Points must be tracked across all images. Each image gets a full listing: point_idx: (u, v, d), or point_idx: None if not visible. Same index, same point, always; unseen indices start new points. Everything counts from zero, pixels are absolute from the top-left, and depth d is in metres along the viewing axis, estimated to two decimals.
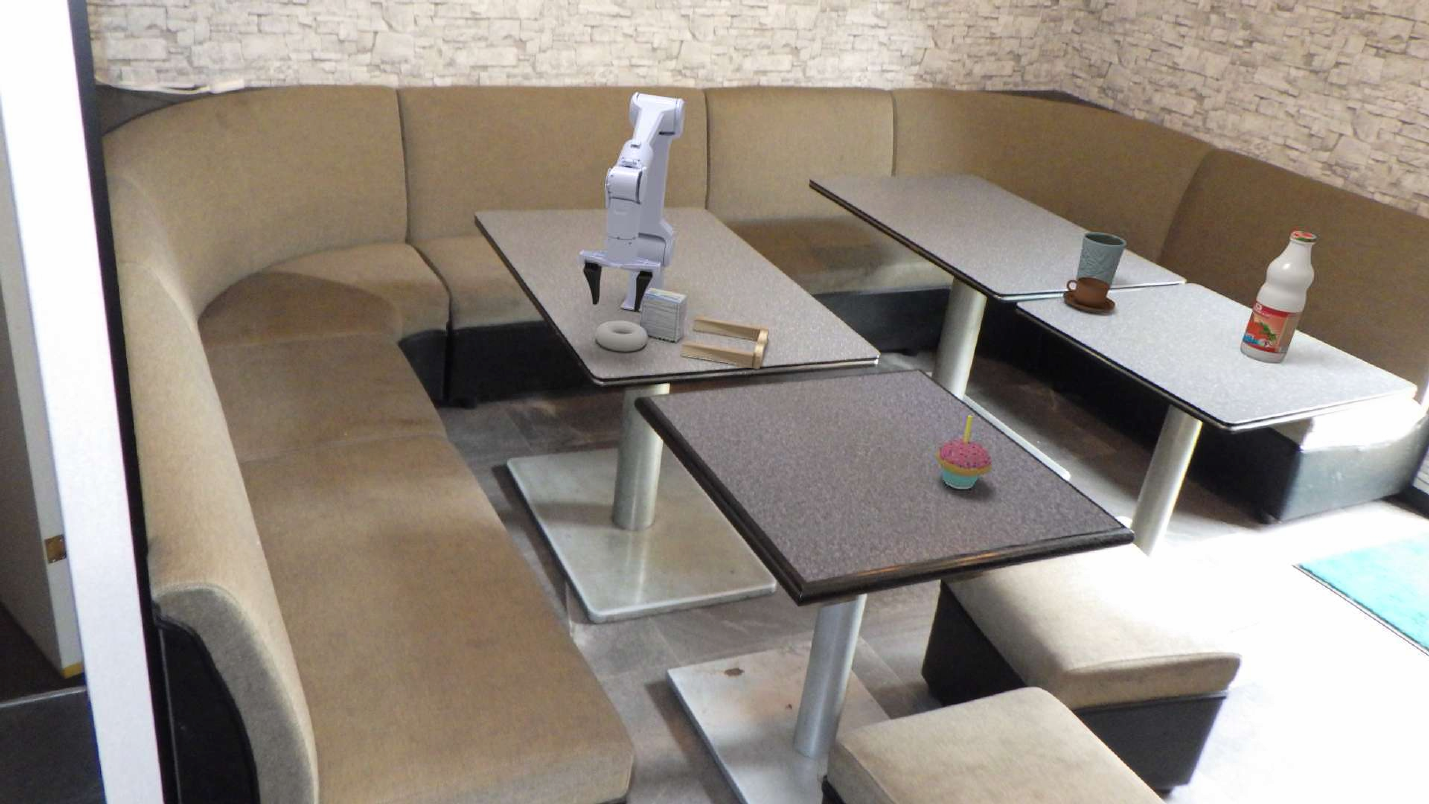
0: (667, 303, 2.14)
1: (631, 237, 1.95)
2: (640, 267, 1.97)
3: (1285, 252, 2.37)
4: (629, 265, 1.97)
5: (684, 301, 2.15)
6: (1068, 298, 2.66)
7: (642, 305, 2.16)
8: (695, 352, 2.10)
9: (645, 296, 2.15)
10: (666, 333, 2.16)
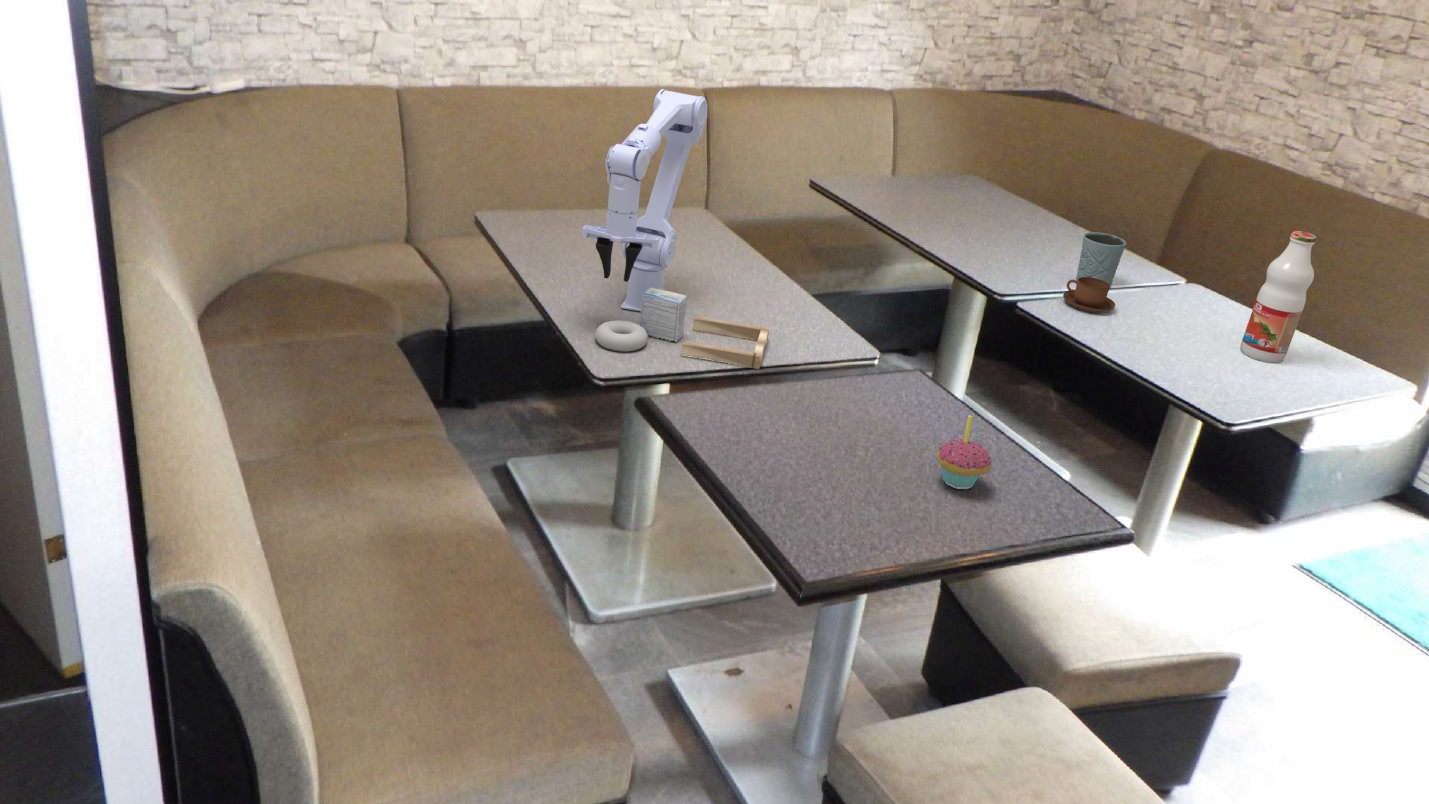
0: (667, 303, 2.14)
1: (628, 212, 2.07)
2: (639, 240, 2.10)
3: (1285, 252, 2.37)
4: (629, 238, 2.09)
5: (684, 301, 2.15)
6: (1068, 298, 2.66)
7: (642, 305, 2.16)
8: (695, 352, 2.10)
9: (645, 296, 2.15)
10: (666, 333, 2.16)
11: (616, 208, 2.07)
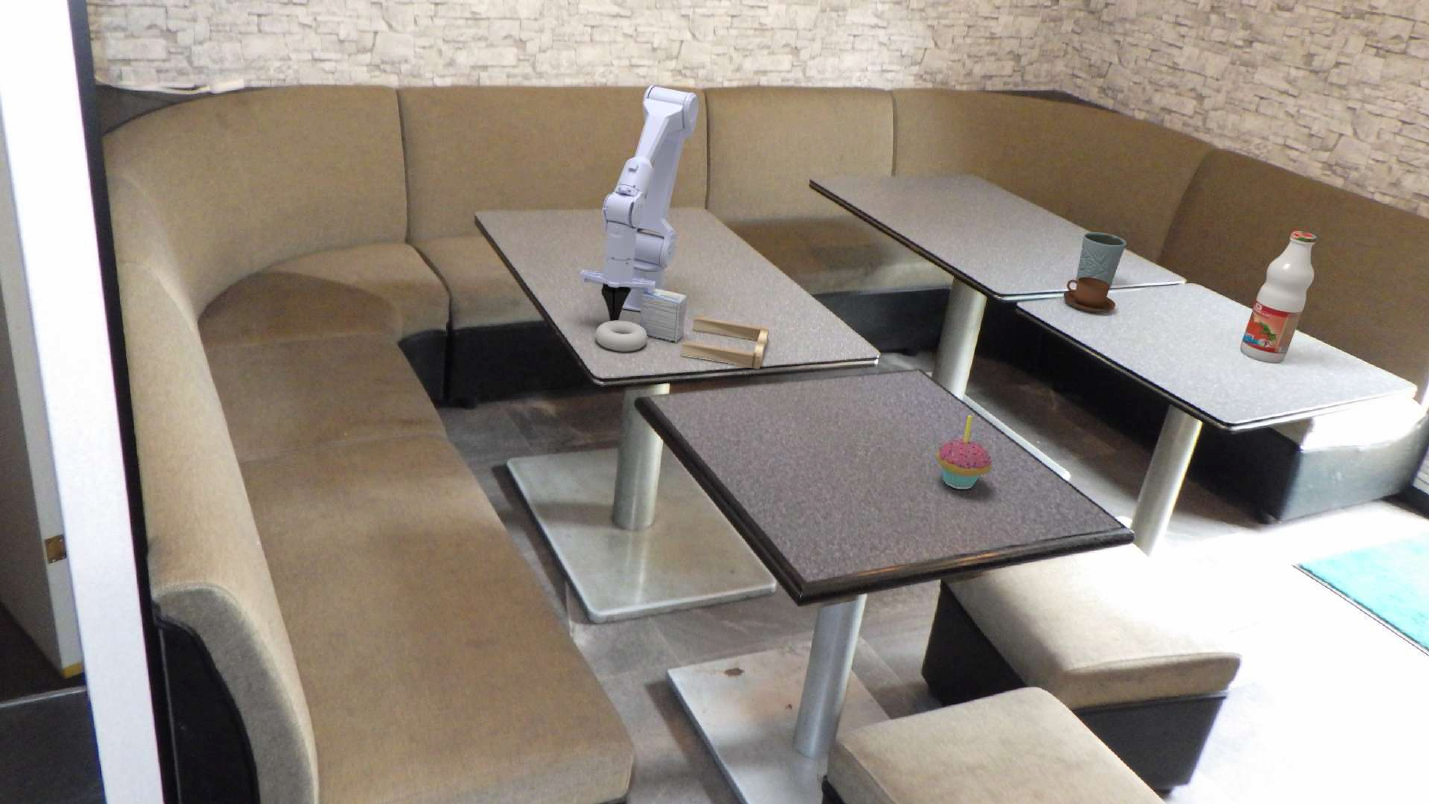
0: (667, 303, 2.14)
1: (625, 258, 2.11)
2: (636, 285, 2.14)
3: (1285, 252, 2.37)
4: (626, 283, 2.13)
5: (684, 301, 2.15)
6: (1068, 298, 2.66)
7: (642, 305, 2.16)
8: (695, 352, 2.10)
9: (645, 296, 2.15)
10: (666, 333, 2.16)
11: (613, 255, 2.11)
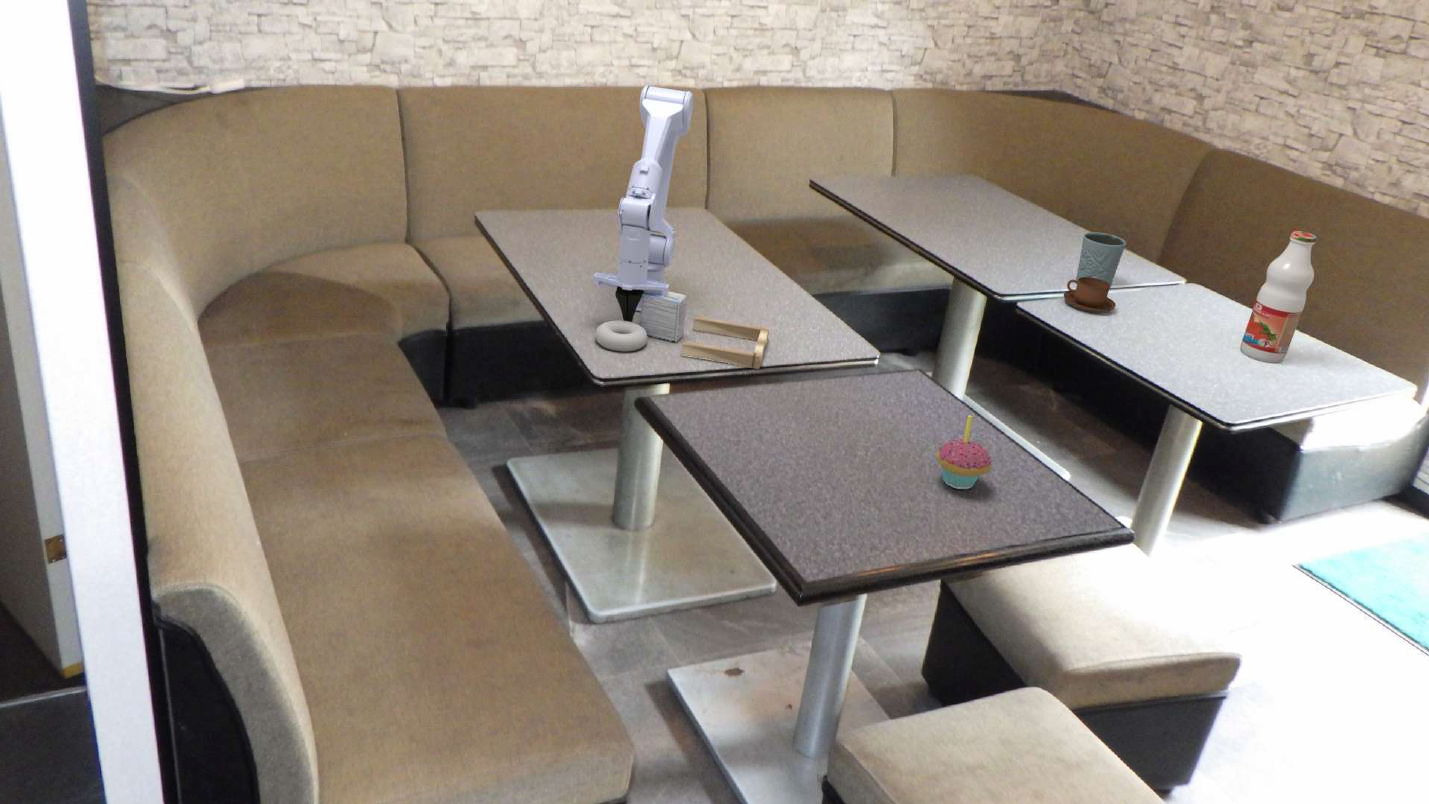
0: (667, 303, 2.14)
1: (642, 261, 2.11)
2: (650, 288, 2.13)
3: (1285, 252, 2.37)
4: (640, 286, 2.13)
5: (684, 301, 2.15)
6: (1069, 298, 2.66)
7: (642, 305, 2.16)
8: (695, 352, 2.10)
9: (645, 296, 2.15)
10: (666, 333, 2.16)
11: (629, 258, 2.10)
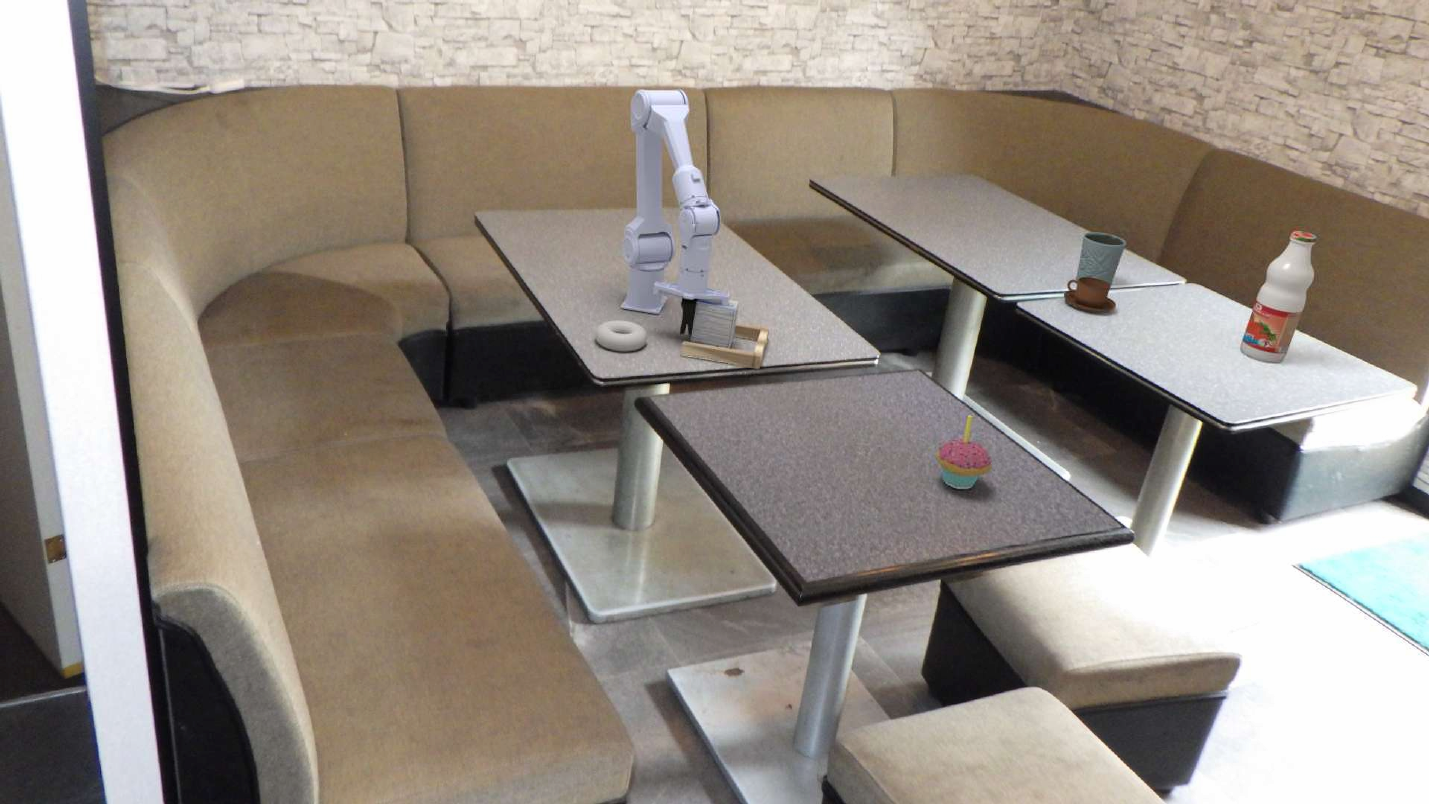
0: (722, 310, 2.13)
1: None
2: (711, 297, 2.12)
3: (1285, 252, 2.37)
4: (701, 295, 2.12)
5: (737, 307, 2.15)
6: (1069, 298, 2.66)
7: (696, 312, 2.14)
8: (695, 352, 2.10)
9: (700, 303, 2.13)
10: (720, 340, 2.16)
11: (702, 268, 2.10)
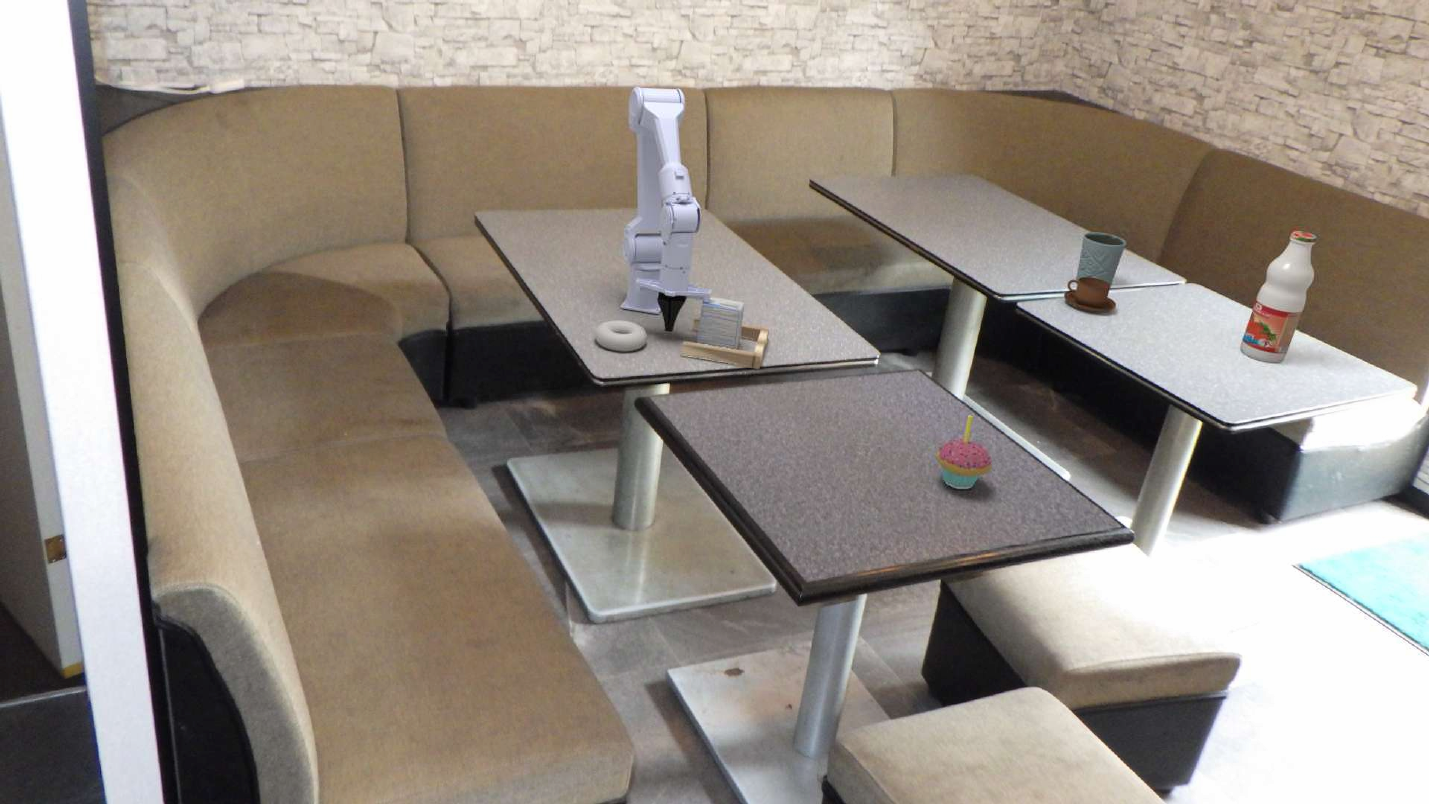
0: (727, 311, 2.13)
1: (689, 265, 2.12)
2: (692, 294, 2.13)
3: (1285, 252, 2.37)
4: (682, 292, 2.12)
5: (743, 308, 2.15)
6: (1069, 298, 2.66)
7: (701, 315, 2.15)
8: (695, 352, 2.10)
9: (705, 305, 2.14)
10: (726, 342, 2.16)
11: (681, 265, 2.10)
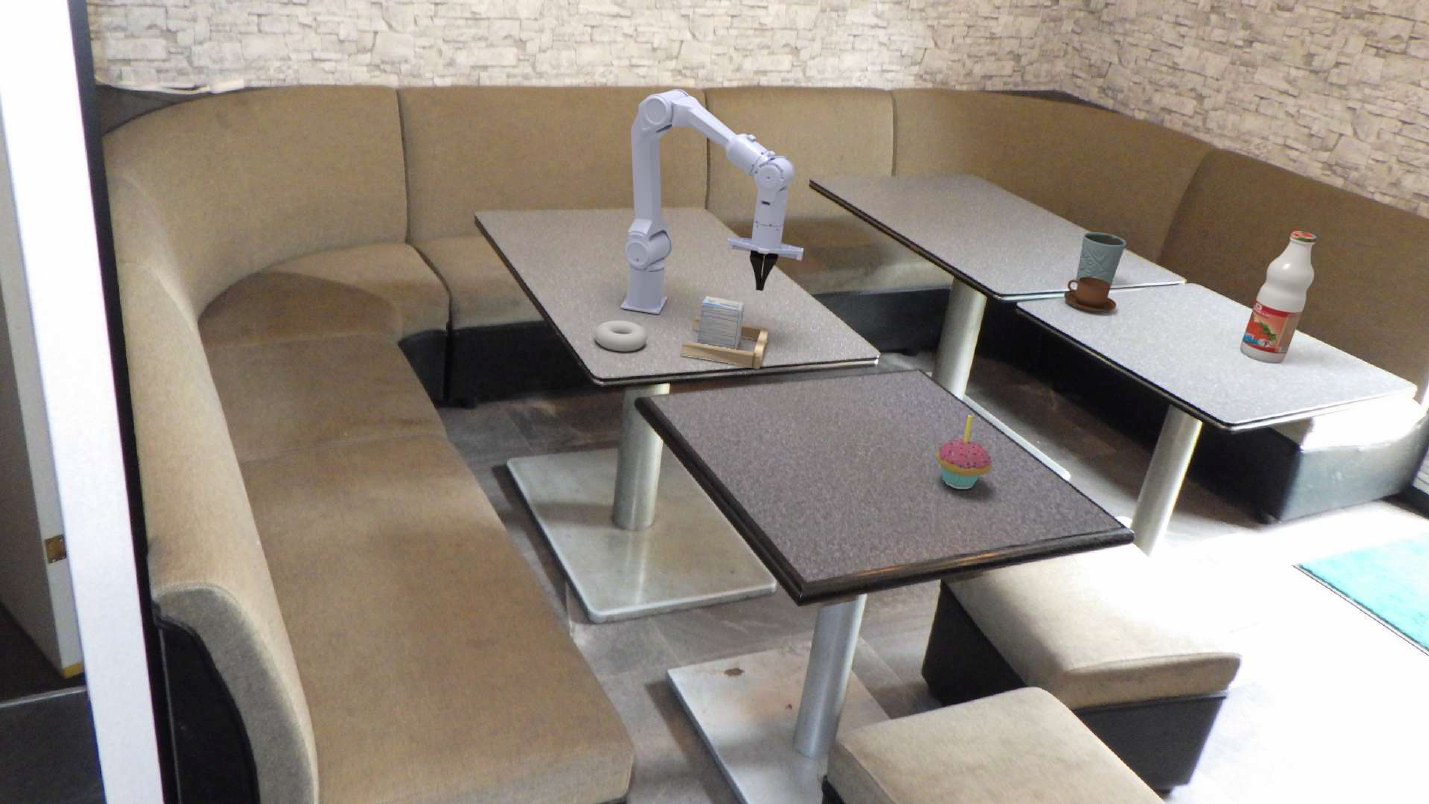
0: (727, 311, 2.13)
1: None
2: (785, 252, 2.13)
3: (1285, 252, 2.37)
4: (775, 250, 2.12)
5: (743, 308, 2.15)
6: (1069, 298, 2.66)
7: (701, 314, 2.15)
8: (695, 352, 2.10)
9: (705, 305, 2.14)
10: (726, 342, 2.16)
11: (782, 221, 2.11)
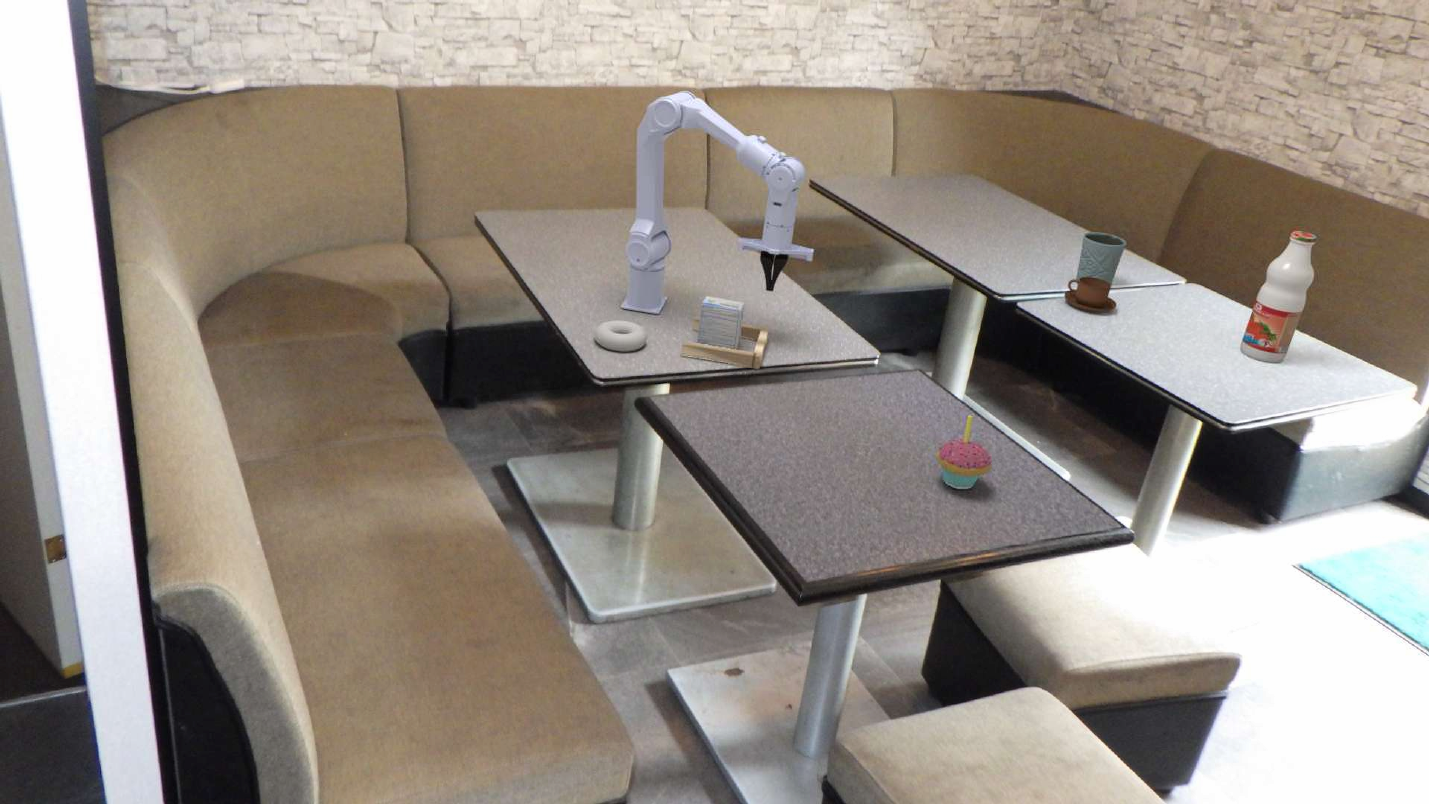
0: (727, 311, 2.13)
1: None
2: (796, 253, 2.14)
3: (1285, 252, 2.37)
4: (786, 251, 2.13)
5: (743, 308, 2.15)
6: (1069, 298, 2.66)
7: (701, 314, 2.15)
8: (695, 352, 2.10)
9: (705, 305, 2.14)
10: (726, 342, 2.16)
11: (793, 221, 2.12)
